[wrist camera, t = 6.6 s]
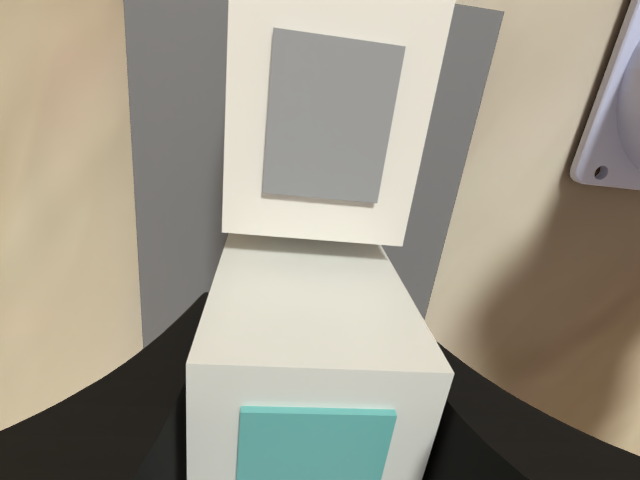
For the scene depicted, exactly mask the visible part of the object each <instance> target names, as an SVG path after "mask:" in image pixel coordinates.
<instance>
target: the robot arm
mask: <svg viewBox="0 0 640 480" xmlns="http://www.w3.org/2000/svg"><path fill="white" fill-rule="evenodd" d="M599 167H601V168H600V172H599V174H598V175H596V176H594V174H595V171H596V170H597V168H599ZM570 176H571V178H572V180H573V181H575V182H578V183H581V184H585V185H595V186H604V187H614V188H623V189H633V190H640V0H631V2H630V5H629V8H628V10H627V13H626V16H625V19H624V22H623V24H622V27H621V30H620V33H619V35H618V38H617V41H616V44H615V46H614V49H613V52H612V55H611V58H610V60H609V63H608V66H607V69H606V71H605V74H604V77H603V80H602V82H601V85H600V88H599V91H598V94H597V96H596V99H595V102H594V105H593V107H592V110H591V113H590V116H589V118H588V121H587V124H586V127H585V130H584V132H583V135H582V138H581V141H580V143H579V146H578V149H577V152H576V154H575V157H574V160H573V163H572V166H571V169H570ZM208 295H209V292H204V293H203V294H202V295H201V296H200V297H199V298H198V299H197V300H196V301H195V302H194V303H193V304H192V305H191V306H190V307H189V308H188V309H187V310H186V311H185V312H184V313H183V314H182V315H181V316H180V317H179V318H178V319H177V320H176V321H175V322H174V323H173V324H172V325H170V326H169V327H168V328H167V329H166V330H165V331H164V332H163V333H162V334H161V335H159V336H158V337H157V338H156V339H155V340H153V341H152V342H151V343H150V344H149V345H147V346H146V347H145V348H144V349H142V350H141V351H140V352H139V353H138V354H136V355H135V356H134V357H132V358H131V359H130V360H128V361H127V362H126V363H124V364H123V365H121V366H120V367H118V368H117V369H115V370H114V371H112V372H111V373H109V374H108V375H106V376H105V377H103V378H102V379H100V380H98V381H96V382H95V383H93V384H91V385H90V386H88V387H86V388H84V389H83V390H81V391H79V392H77V393H76V394H74V395H72V396H70V397H69V398H67V399H65V400H63V401H62V402H60V403H58V404H56V405H54V406H52V407H50V408H48V409H46V410H44V411H42V412H40V413H38V414H36V415H34V416H32V417H30V418H28V419H26V420H23V421H21V422H19V423H17V424H15V425H13V426H11V427H9V428H6V429H4V430H2V431H0V480H187V443H186V362H187V359H188V356H189V353H190V350H191V347H192V343H193V340H194V337H195V334H196V331H197V328H198V325H199V322H200V319H201V316H202V313H203V310H204V307H205V304H206V301H207V298H208ZM436 342H437V341H436ZM437 344H438V345H439V347H440V349H441V351H442V352H443V354H444V356H445V358H446V359H447V361H448V363H449V365H450V366H451V368H452V370H453V372H454V373H455V374H454V377H453V380H452V383H451V387H450V390H449V393H448V396H447V400H446V403H445V406H444V409H443V413H442V416H441V419H440V423H439V426H438V429H437V432H436V436H435V439H434V442H433V445H432V449H431V452H430V455H429V458H428V462H427V465H426V468H425V472H424V475H423V478H422V480H640V456H638V455H635V454H633V453H630V452H628V451H625V450H623V449H620V448H618V447H615V446H613V445H610V444H608V443H605V442H603V441H601V440H599V439H597V438H594V437H592V436H590V435H588V434H586V433H584V432H582V431H579V430H577V429H575V428H573V427H571V426H569V425H567V424H565V423H563V422H561V421H559V420H557V419H555V418H553V417H551V416H549V415H547V414H545V413H543V412H541V411H540V410H538V409H536V408H534V407H532V406H531V405H529V404H527V403H525V402H523V401H521V400H520V399H518V398H516V397H515V396H513V395H511V394H510V393H508V392H506V391H505V390H503V389H502V388H500V387H498V386H497V385H495V384H494V383H492V382H491V381H489V380H488V379H486V378H485V377H483V376H482V375H480V374H479V373H477V372H476V371H474V370H473V369H472V368H470V367H469V366H467V365H466V364H465V363H463V362H462V361H461V360H460V359H458V358H457V357H456V356H454V355H453V354H452V353H450V352H449V351H448V350H447V349H445V348H444V347H443V346H442V345H440V344H439V343H438V342H437Z"/></svg>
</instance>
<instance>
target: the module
mask: <svg viewBox="0 0 640 480" xmlns="http://www.w3.org/2000/svg"><path fill="white" fill-rule="evenodd" d="M454 374H455V373H454V372H453V370H452V368H451V366H450V365H449V363H448V361H447V359H446V358H445V356H444V354H443V352H442V351H441V349H440V347H439V345H438V344H437V342H436V340H435V338H434V337H433V335H432V333H431V331H430V330H429V328H428V326H427V324H426V323H425V321H424V319H423V317H422V316H421V314H420V312H419V311H418V309H417V307H416V305H415V304H414V302H413V300H412V298H411V297H410V295H409V293H408V291H407V290H406V288H405V286H404V284H403V283H402V281H401V279H400V277H399V276H398V274H397V272H396V270H395V269H394V267H393V265H392V263H391V262H390V260H389V258H388V256H387V255H386V253H385V251H384V249H383V248H382V246H381V245H377V244H364V243H351V242H338V241H325V240H312V239H299V238H287V237H274V236H261V235H248V234H235V233H229V234H228V237H227V240H226V243H225V246H224V249H223V252H222V255H221V258H220V261H219V264H218V267H217V270H216V273H215V276H214V280H213V283H212V286H211V289H210V292H209V295H208V298H207V301H206V304H205V307H204V310H203V313H202V316H201V319H200V322H199V325H198V328H197V331H196V334H195V337H194V340H193V343H192V347H191V350H190V353H189V356H188V359H187V362H186V443H187V480H422V478H423V475H424V472H425V468H426V465H427V462H428V458H429V455H430V452H431V449H432V445H433V442H434V439H435V436H436V432H437V429H438V426H439V423H440V419H441V416H442V413H443V409H444V406H445V403H446V400H447V396H448V393H449V390H450V387H451V383H452V380H453V377H454Z"/></svg>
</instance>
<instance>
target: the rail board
mask: <svg viewBox="0 0 640 480" xmlns="http://www.w3.org/2000/svg"><path fill="white" fill-rule="evenodd" d="M123 1H124V18H125V36H126V53H127V71H128V88H129V106H130V123H131V141H132V158H133V176H134V193H135V211H136V228H137V246H138V263H139V281H140V298H141V316H142V333H143V349H144V348H145V347H146V346H147V345H149V344H150V343H151V342H152V341H153V340H155V339H156V338H157V337H158V336H159V335H161V334H162V333H163V332H164V331H165V330H166V329H167V328H168V327H169V326H170V325H172V324H173V323H174V322H175V321H176V320H177V319H178V318H179V317H180V316H181V315H182V314H183V313H184V312H185V311H186V310H187V309H188V308H189V307H190V306H191V305H192V304H193V303H194V302H195V301H196V300H197V299H198V298H199V297H200V296H201V295H202V294H203V293H204V292H210V289H211V286H212V283H213V280H214V276H215V273H216V270H217V267H218V264H219V261H220V258H221V255H222V252H223V249H224V246H225V243H226V240H227V237H228V234H229V233H235V234H248V235H261V236H274V237H287V238H299V239H312V240H325V241H338V242H351V243H364V244H377V245H381V246H382V248H383V249H384V251H385V253H386V255H387V256H388V258H389V260H390V262H391V263H392V265H393V267H394V269H395V270H396V272H397V274H398V276H399V277H400V279H401V281H402V283H403V284H404V286H405V288H406V290H407V291H408V293H409V295H410V297H411V298H412V300H413V302H414V304H415V305H416V307H417V309H418V311H419V312H420V314H421V316H422V317H423V319H424V320H425V316H426V312H427V308H428V304H429V300H430V297H431V293H432V289H433V285H434V281H435V277H436V273H437V270H438V266H439V262H440V258H441V254H442V250H443V246H444V243H445V239H446V235H447V231H448V227H449V223H450V219H451V216H452V212H453V208H454V204H455V200H456V196H457V192H458V189H459V185H460V181H461V177H462V173H463V169H464V165H465V162H466V158H467V154H468V150H469V146H470V142H471V138H472V134H473V131H474V127H475V123H476V119H477V115H478V111H479V107H480V104H481V100H482V96H483V92H484V88H485V84H486V80H487V77H488V73H489V69H490V65H491V61H492V57H493V53H494V50H495V46H496V42H497V38H498V34H499V30H500V26H501V23H502V19H503V15H504V11H497V10H491V9H485V8H479V7H472V6H466V5H460V4H455V1H456V0H123Z"/></svg>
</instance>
